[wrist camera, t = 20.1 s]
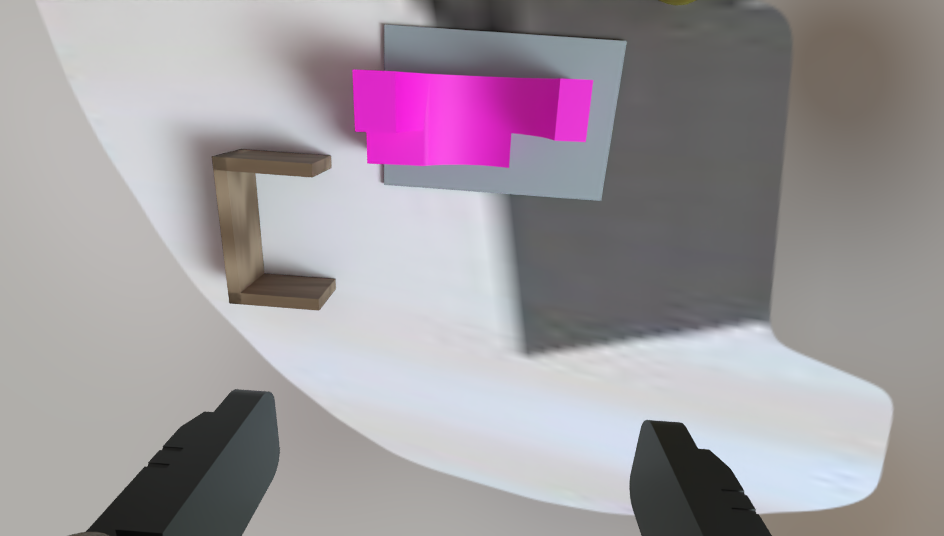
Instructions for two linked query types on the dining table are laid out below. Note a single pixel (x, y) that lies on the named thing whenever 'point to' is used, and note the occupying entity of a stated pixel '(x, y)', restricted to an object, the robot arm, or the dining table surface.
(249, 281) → the walnut bracket
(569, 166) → the slate mat
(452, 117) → the toy block
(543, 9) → the dining table surface
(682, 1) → the element tile
